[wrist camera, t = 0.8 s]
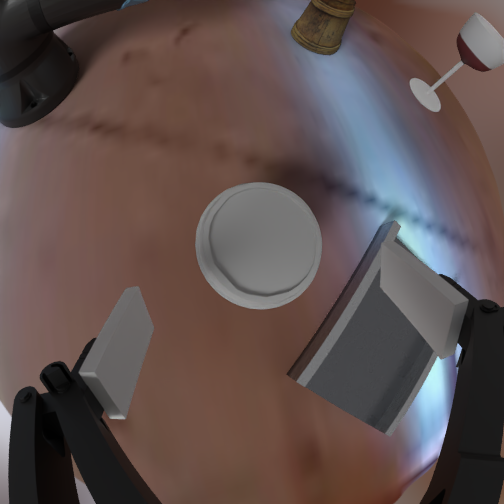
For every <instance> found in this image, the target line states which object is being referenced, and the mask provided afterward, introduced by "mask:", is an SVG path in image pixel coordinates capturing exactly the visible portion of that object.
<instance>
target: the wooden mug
mask: <svg viewBox="0 0 504 504" xmlns="http://www.w3.org/2000/svg"><path fill="white" fill-rule="evenodd" d="M355 4H356V2H355V0H311V2H310V3H309V5H308V6H307V8H306V9H305V11H304V12H303V14H302V15H301V17H300V18H299V19H298V20H297V21H296V23H295V24H294V26H293V28H292V30H291V35H292V37H293V38H294V40H295V41H296V42H298V43H299V44H300V45H301V46H303V47H304V48H306V49H308V50H310V51H312V52H315V53H318V54H323V55H331V54H334V53H335V52H337V50H338V49H339V47H340V44H341V40H342V39H341V38H342V36H343V33H344V31H345V28H346V26H347V23H348V21H349V19H350V17H351V16H352V15H353V12H354V9H355V7H354V6H355Z"/></svg>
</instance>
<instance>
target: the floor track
mask: <svg viewBox="0 0 504 504" xmlns="http://www.w3.org/2000/svg"><path fill="white" fill-rule="evenodd" d="M400 228H401V226H400V225H399V224H398V223H397V222H396V221H395V220H394V221H392V222H389V223H387V224H384V225H382V226H380V227H379V229H378V231H377V233H376V235H375V237H374V238H373V240H372V242H371V244H370V246H369V247H368V249H367V251H366V253H365V254H364V256H363V258H362V260H361V261H360V263H359V265H358V266H357V268H356V270H355V272H354V273H353V275H352V277H351V278H350V280H349V282H348V283H347V285H346V286H345V288H344V290H343V291H342V293H341V295H340V296H339V298H338V299H337V301H336V303H335V304H334V306H333V307H332V309H331V310H330V312H329V313H328V315H327V317H326V318H325V320H324V321H323V323H322V324H321V326H320V327H319V329H318V330H317V332H316V333H315V335H314V336H313V338H312V339H311V341H310V342H309V343H308V345H307V346H306V348H305V349H304V351H303V352H302V353H301V355H300V356H299V358H298V359H297V361H296V362H295V363H294V365H293V366H292V367H291V369H290V370H289V372H288V373H287V375H288V376H289V377H291V378H292V379H293V380H295V381H296V382H298V383H299V384H301V385H302V386H304V387H306V388H308V389H310V390H311V391H313V392H314V393H316V394H318V395H319V396H321V397H323V398H324V399H326V400H327V401H329V402H331V403H332V404H334V405H336V406H337V407H339V408H341V409H342V410H344V411H346V412H348V413H349V414H351V415H353V416H355V417H356V418H358V419H360V420H362V421H363V422H365V423H367V424H369V425H370V426H372V427H374V428H376V429H378V430H379V431H381V432H383V433H384V434H386V435H388V436H391V435H392V433H393V432H394V430H395V429H396V427H397V426H398V424H399V423H400V421H401V420H402V418H403V417H404V415H405V414H406V412H407V410H408V409H409V407H410V406H411V404H412V402H413V401H414V399H415V397H416V395H417V394H418V392H419V390H420V389H421V387H422V385H423V383H424V381H425V380H426V378H427V376H428V374H429V372H430V370H431V368H432V366H433V364H434V362H435V360H436V358H437V356H438V355H437V354H436V353H435V351H434V350H433V349H432V348H431V346H430V345H429V344H428V343H427V341H426V340H425V339H424V338H423V337H422V335H421V334H420V333H419V332H418V331H417V329H416V328H415V327H414V326H413V325H412V323H411V322H410V321H409V320H408V319H407V317H406V316H405V315H404V314H403V313H402V312H401V310H400V309H399V308H398V307H397V306H396V305H395V303H394V302H393V301H392V300H391V299H390V298H389V297H388V295H387V294H386V293H385V292H384V291H383V290H382V289H381V288H380V277H381V243H382V242H387V241H392V240H393V241H394V242H396V243H397V244H399V245H400V246H401V247H403V248H404V249H405V250H407V251H408V252H409V253H411V252H410V251H409V250H408V249H407V248H406V247H405V246H404V245H403V244H402V243H401V242H400V241H399V240H398V239H397V238H396V236H397V234H398V232H399V230H400ZM411 254H412V253H411ZM412 255H413V254H412ZM413 256H414V255H413Z"/></svg>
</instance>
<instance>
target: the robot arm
mask: <svg viewBox="0 0 504 504" xmlns="http://www.w3.org/2000/svg"><path fill="white" fill-rule="evenodd" d="M147 1H148V0H0V122H1V123H2V124H3V125H4V126H6V127H10V128H18V127H23V126H26V125H29V124H31V123H33V122H35V121H37V120H39V119H40V118H42V117H44V116H45V115H46V114H48V113H49V112H50V111H52V110H53V109H54V108H55V107H56V106H57V105H58V104H59V103H60V102H61V101H62V100H63V99H64V98H65V97H66V96H67V94H68V93H69V92H70V90H71V89H72V87H73V85H74V83H75V81H76V79H77V76H78V71H79V65H78V62H77V59H76V56H75V54H74V52H73V51H72V49H71V48H69V47H68V46H67V45H66V44H65V43H64V42H63V41H62V40H61V39H60V38H59V37H58V36H57V35H56V34H55V33H54V32H53V30H56V29H58V28H60V27H63V26H66V25H68V24H71V23H74V22H77V21H80V20H83V19H86V18H89V17H92V16H95V15H99V14H102V13H106V12H109V11H113V10H117V11H119V10H122V9H124V8H125V7H129V6H132V5H136V4H140V3H144V2H147ZM380 288H381V289H382V290H383V291H384V292H385V293H386V294H387V295H388V297H389V298H390V299H391V300H392V301H393V302H394V303H395V305H396V306H397V307H398V308H399V309H400V310H401V312H402V313H403V314H404V315H405V316H406V317H407V319H408V320H409V321H410V322H411V323H412V325H413V326H414V327H415V328H416V329H417V331H418V332H419V333H420V334H421V335H422V337H423V338H424V339H425V340H426V341H427V343H428V344H429V345H430V346H431V348H432V349H433V350H434V351H435V353H436V354H437V355H438V356H439V358H440V359H444V358H446V357H448V356H451V355H453V354H454V353H455V350H456V347H457V343H458V344H459V345H460V346H461V347H462V351H461V354H460V357H459V360H458V363H457V365H456V367H459V368H458V375H457V382H456V388H455V394H454V399H453V404H452V409H451V413H450V418H449V422H448V426H447V430H446V434H445V438H444V442H443V445H442V449H441V452H440V456H439V459H438V462H437V465H436V468H435V471H434V474H433V477H432V480H431V482H430V485H429V487H428V490H427V492H426V493H425V495H424V497H423V499H422V500H421V502H420V504H498V502H499V498H500V494H501V490H502V485H503V480H504V458H502V457H501V456H500V451H501V444H502V436H503V426H504V307H500V306H499V305H498V304H497V303H495V302H493V301H491V300H487V299H482V300H477V299H476V298H475V297H473V296H472V295H471V294H470V293H469V292H467V291H466V290H465V289H464V288H462V287H461V286H460V285H459V284H457V283H456V282H455V281H454V280H452V279H451V278H450V277H447V276H445V275H442V274H439V275H438V274H437V273H435V272H434V271H433V270H432V269H430V268H429V267H428V266H426V265H425V264H424V263H423V262H421V261H420V260H419V259H417V258H416V257H415V256H413V255H412V254H411V253H409V252H408V251H407V250H405V249H404V248H403V247H401V246H400V245H399V244H397V243H396V242H394V241H393V240H392V241H387V242H382V243H381V277H380ZM153 330H154V326H153V324H152V321H151V319H150V316H149V313H148V311H147V308H146V305H145V303H144V300H143V297H142V295H141V292H140V289H139V286H137V287H131V288H126V289H125V291H124V292H123V294H122V296H121V297H120V299H119V301H118V302H117V304H116V306H115V307H114V309H113V311H112V312H111V314H110V316H109V318H108V319H107V321H106V323H105V324H104V326H103V328H102V330H101V331H100V333H99V335H98V337H97V338H93V339H92V340H91V341H90V342H89V343H88V344H87V345H86V346H85V348H84V350H83V351H82V354H81V355H80V357H79V359H78V360H77V362H76V364H75V366H74V368H73V370H72V371H71V372H70V371H69V369H68V367H67V366H66V364H65V363H64V362H61V361H58V362H53V363H51V364H49V365H48V366H46V367H45V368H44V369H43V370H42V372H41V374H40V380H41V381H42V383H43V384H44V386H45V387H46V389H47V390H48V391H49V392H48V393H43V394H39V393H38V391H37V390H36V389H35V388H34V387H31V386H29V387H25V388H23V389H21V390H20V391H19V392H18V393H17V395H16V396H15V399H14V405H13V413H12V421H11V431H10V444H9V473H8V474H9V476H8V478H9V504H80V503H79V499H78V494H77V489H76V484H75V478H74V472H73V466H72V459H71V453H72V456H73V458H74V460H75V463H76V465H77V467H78V469H79V471H80V473H81V476H82V478H83V480H84V482H85V484H86V486H87V488H88V490H89V491H90V493H91V495H92V497H93V499H94V501H95V503H96V504H162V503H161V502H160V501H159V499H158V498H157V497H156V496H155V494H154V493H153V492H152V491H151V489H150V488H149V487H148V485H147V484H146V483H145V481H144V480H143V479H142V477H141V476H140V475H139V473H138V472H137V471H136V469H135V468H134V466H133V465H132V463H131V462H130V460H129V459H128V458H127V456H126V455H125V453H124V452H123V450H122V448H121V447H120V445H119V444H118V442H117V441H116V439H115V437H114V436H113V434H112V432H111V431H110V429H109V427H108V426H107V424H106V422H105V421H104V419H103V418H102V414H103V411H105V412H106V413H107V415H108V416H109V418H110V419H126V416H127V413H128V409H129V406H130V402H131V399H132V396H133V392H134V389H135V386H136V383H137V379H138V376H139V373H140V370H141V367H142V363H143V360H144V357H145V354H146V351H147V348H148V345H149V342H150V339H151V336H152V333H153Z"/></svg>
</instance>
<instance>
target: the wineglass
mask: <svg viewBox="0 0 504 504" xmlns="http://www.w3.org/2000/svg"><path fill="white" fill-rule="evenodd" d="M457 47H458V50H459V54H460V56H461V61H460V62H459V63H457V64H456V65H455V66H454V67H453V68H452V69H451V70H450V71H449V72H447V73H446V74H445V75H444V76H443V77H442V78H441V79H439V80H438V81H437V82H436V83H435V84H434V85H433V86H432V87H430V86H429V85H427V84H426V83H425V82H424V81H422V80H420V79H417V78H412V79H411V80H410V88H411V90H412V92H413V94H414V95H415V97H416V98H417V99H418V101H419V102H420V103H421V104H422V105H424V106H425V107H426V108H427V109H429V110H431V111H434V112H438V111H439V110H440V109H441V104H440V101H439V99H438V97H437V95H436V93H435V92H434V90H435V89H436V88H437V87H438V86H439V85H440V84H442V83H443V82H444V81H445V80H446V79H447V78H448V77H450V76H451V75H452V74H453V73H454V72H455V71H456V70H458V69H459V68H460V67H461V66H462V65H464V64H467V65H468V66H470V67H472V68H473V69H475V70H478V71H481V72H485V71H489V70H492V69H494V68H496V67H498V66H500V65H502V64H503V63H504V39H503V38H502V37H501V35H500V34H499V33H498V32H497V31H496V30H495V28H494V27H493V26H492V25H491V24H490V23H489V22H487V20H486V19H485V18H483V17H482V16H481V15H479V14H478V13H474V14H473V15H472V16H471V17H470V19H469V20H468V21H467V22H466V23H465V25H464V26H463V28H462V29H461V31H460V33H459V35H458V37H457Z"/></svg>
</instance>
